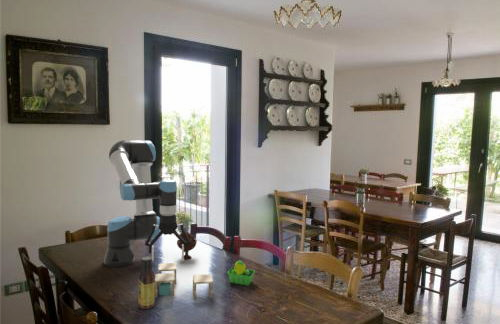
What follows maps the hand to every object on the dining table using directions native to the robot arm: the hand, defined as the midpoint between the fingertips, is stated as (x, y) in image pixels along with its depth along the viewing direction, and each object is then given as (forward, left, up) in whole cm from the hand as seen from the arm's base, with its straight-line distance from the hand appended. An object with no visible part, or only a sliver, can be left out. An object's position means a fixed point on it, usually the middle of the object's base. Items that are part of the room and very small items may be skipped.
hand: (167, 259), depth 175 cm
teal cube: (+10, -8, -10) cm, 16 cm away
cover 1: (0, 0, -10) cm, 10 cm away
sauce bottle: (+15, -20, -11) cm, 28 cm away
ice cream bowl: (-20, +26, -11) cm, 35 cm away
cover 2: (+10, -8, -10) cm, 16 cm away
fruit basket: (+24, +24, -11) cm, 35 cm away
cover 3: (+22, +3, -10) cm, 24 cm away
